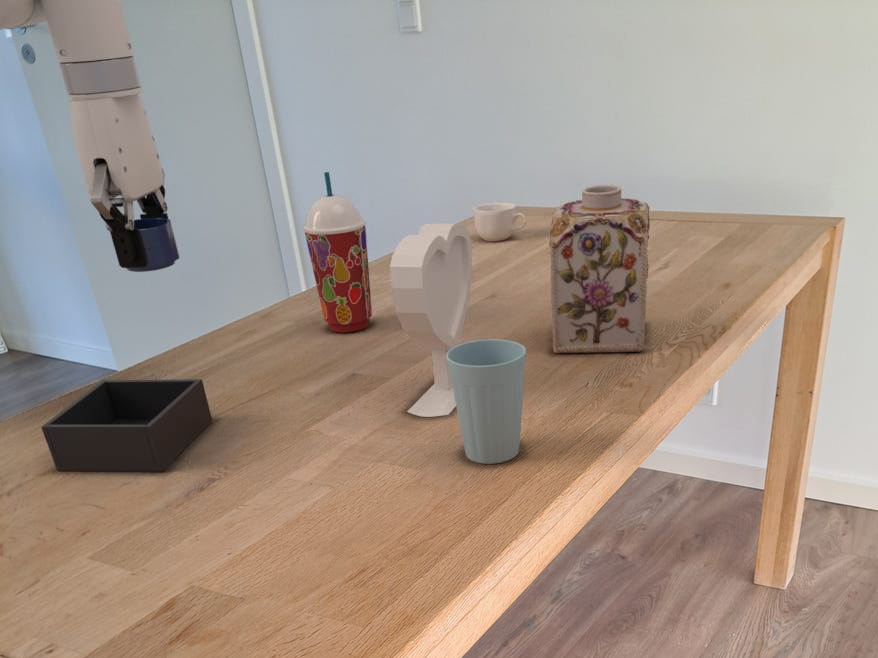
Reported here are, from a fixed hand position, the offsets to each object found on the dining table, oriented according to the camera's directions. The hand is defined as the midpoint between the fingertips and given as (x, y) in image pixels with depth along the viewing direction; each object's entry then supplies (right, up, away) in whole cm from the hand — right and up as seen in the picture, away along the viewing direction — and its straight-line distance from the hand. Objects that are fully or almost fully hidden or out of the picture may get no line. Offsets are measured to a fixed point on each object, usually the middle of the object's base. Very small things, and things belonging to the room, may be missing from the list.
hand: (148, 256), depth 107 cm
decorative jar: (+54, -5, +13) cm, 56 cm away
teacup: (+43, +29, +62) cm, 81 cm away
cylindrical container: (0, -1, +1) cm, 1 cm away
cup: (+40, -26, -13) cm, 49 cm away
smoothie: (+20, 0, +25) cm, 32 cm away
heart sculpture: (+35, -16, +1) cm, 38 cm away
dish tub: (+1, -23, -5) cm, 24 cm away
